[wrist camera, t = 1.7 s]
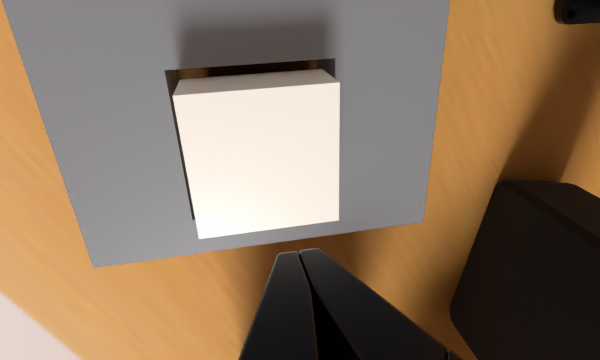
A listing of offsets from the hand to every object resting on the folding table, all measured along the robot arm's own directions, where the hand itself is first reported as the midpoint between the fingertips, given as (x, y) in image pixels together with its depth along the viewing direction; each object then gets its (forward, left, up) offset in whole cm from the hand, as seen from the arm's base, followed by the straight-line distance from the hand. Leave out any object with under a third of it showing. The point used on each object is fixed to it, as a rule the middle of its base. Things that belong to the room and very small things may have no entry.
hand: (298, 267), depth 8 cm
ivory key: (0, 0, -8) cm, 8 cm away
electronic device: (-14, +10, -11) cm, 20 cm away
